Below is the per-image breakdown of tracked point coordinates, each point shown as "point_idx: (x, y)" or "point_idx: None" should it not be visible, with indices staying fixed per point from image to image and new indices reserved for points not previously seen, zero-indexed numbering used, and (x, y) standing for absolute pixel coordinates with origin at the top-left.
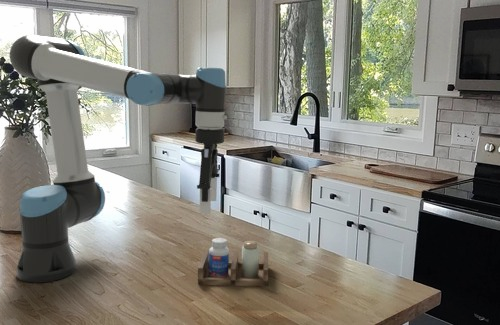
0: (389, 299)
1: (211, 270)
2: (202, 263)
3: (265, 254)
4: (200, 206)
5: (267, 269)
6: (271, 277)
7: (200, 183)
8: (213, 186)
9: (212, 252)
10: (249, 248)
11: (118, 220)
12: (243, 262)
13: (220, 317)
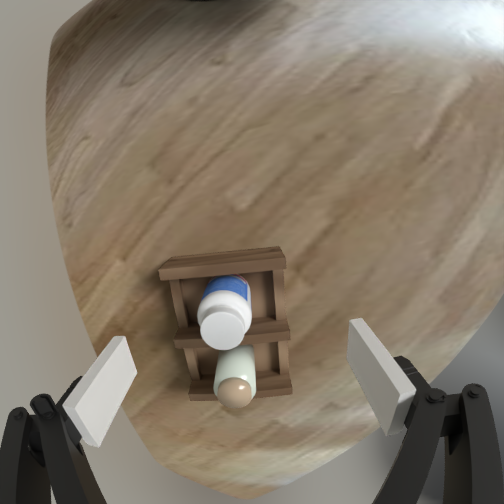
0: (213, 477)
1: (207, 285)
2: (188, 274)
3: (277, 391)
4: (103, 354)
5: (192, 399)
6: None
7: (11, 424)
8: (371, 392)
9: (200, 305)
10: (217, 390)
11: (485, 34)
12: (221, 359)
13: (87, 314)
